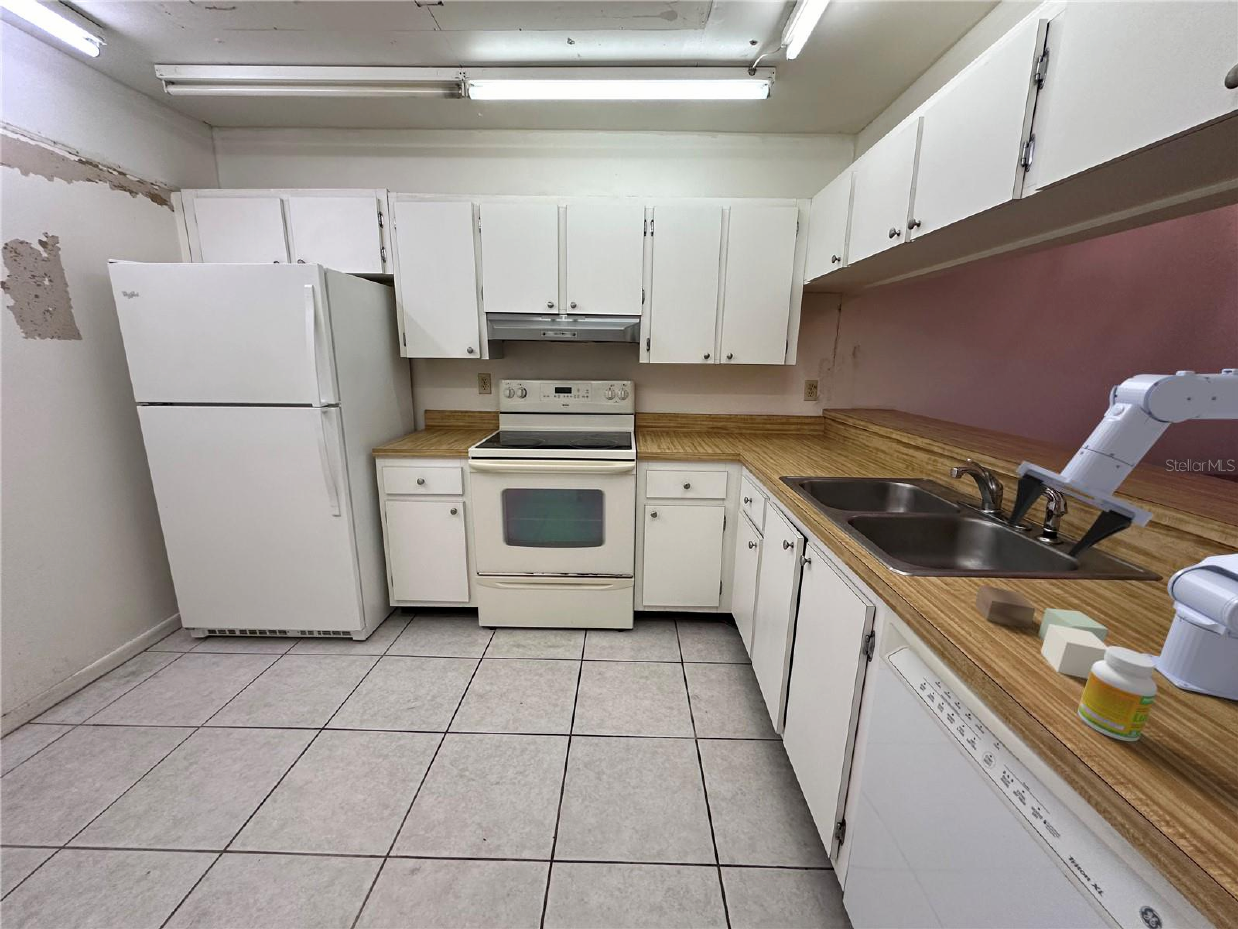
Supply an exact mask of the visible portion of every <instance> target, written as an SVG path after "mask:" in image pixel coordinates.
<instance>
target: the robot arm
mask: <svg viewBox="0 0 1238 929" xmlns="http://www.w3.org/2000/svg"><path fill="white" fill-rule="evenodd" d="M1109 394H1110V395H1109V407H1108V409H1107V410H1106V412H1105V413H1104V415H1103V416H1104V417H1103V419H1102V420H1101V421H1100V423H1099V424H1098V425H1097V426H1096V428H1095V429H1094V430H1093V431H1092V433H1091V434H1090V435H1089V437H1088V438H1087V439H1086V440H1085V442H1084V443H1083V444H1082V446H1080V449H1078V451H1077V452H1076V453H1075V455H1073V457H1072V459H1071V460H1070V461H1069V462H1068V463H1067V465H1066V466H1065V467H1064V469H1063V470H1062V471H1061V473H1056V472H1053V471H1051V470H1048V469H1047V468H1046V469H1045V467H1044V468H1043V467H1040V466H1038V465H1036V464H1032V463H1031V462H1028V461H1025V460H1023V461H1022V463H1021V464H1020V465H1019V466H1018V468H1017V469H1016V470H1015V473H1017V474H1020V475H1021V476H1019V477H1018V479H1017V490H1016V496H1015V502H1014V505H1013V508H1012V511H1011V514H1010V516H1009V518H1008V521H1006V524H1007V525H1009V526H1011V527H1014V528H1016V527H1017V526H1018V525H1019V524H1020V523H1021V522H1022V520H1023V519H1024V518H1025V516H1026V515H1027V513H1028V511H1029V510H1030V508H1031V507H1032V506H1033V505H1034V504H1035V503H1036V502H1037V501H1038V499H1039V498H1040V497H1041V496H1042V495H1044V494H1045V492H1046V491H1048V489H1049V487H1050V488H1053V489H1054V490H1056V491H1059V492H1062V493H1064V494H1066V495H1069V496H1071V497H1074V498H1075V499H1078V500H1080V501H1082V502H1084V503H1087V504H1089V505H1092V506H1095V507H1096V508H1099V509H1101V510H1102V511H1101V512H1100V513H1099V515H1098V516H1097V518H1096V519H1095V521H1094V522H1093V524H1092V525H1091V526H1090V527H1089V529H1088V530H1087V532H1086V533H1085V534H1084V536H1082V538H1080V540H1078V541H1077V542H1076V543H1075V545H1074V546H1072V547H1071V549H1070V550H1069V551H1068V553H1067V555H1068V556H1070V557H1072V558H1074V559H1077V558H1079V556H1081V555H1082V554H1083V553H1085V552H1086V551H1087V550H1089V549H1090V548H1091V547H1093V546H1094V545H1097V544H1099V542H1101V541H1103V540H1106V539H1107V538H1110V537H1111V536H1114V535H1115V534H1116V535H1117V534H1118V533H1120V532H1123V531H1125V530H1127V529H1129V528H1131V525H1132V524H1135V525H1138V526H1141V527H1142V528H1143V527H1145V526H1146V525H1147V524H1148V523H1149V522H1150V520H1151V519H1152V518H1154V514H1153V513H1152V512H1150V511H1148V510H1146V509H1143V508H1141V507H1138V506H1136V505H1135V504H1131V503H1129V502H1127V501H1123V500H1122V499H1119V498H1117V497H1114V496H1112V495H1113V494H1114V492H1116V490H1117V489H1118V488H1119V487H1120V485H1121V484H1122V483H1123V481H1124V480H1126V478H1127V477H1128V475H1130V473H1131V472H1132V471H1133V470H1134V468H1135V467H1136V466H1137V465H1138V464H1139V462H1140V461H1141V460H1142V459H1143V457H1144V456H1145V455H1146V454H1147V453H1148V451H1149V450H1150V449H1151V448H1152V446H1153V445H1154V444H1155V443H1156V442H1157V441H1158V439H1159V438H1160V437H1161V436H1162V434H1163V433H1164V432H1165V431H1166V429H1167V428H1168V427H1169V426H1170V425H1171V424H1172V423H1175V424H1176V423H1181V422H1184V421H1187V420H1238V368H1224V369H1222V370H1221V373H1198V374H1196V372H1195V370H1178V371H1177V372H1176V373H1175V375H1173V374H1171V375H1170V374H1150V373H1149V374H1147V373H1146V374H1145V373H1144V374H1137V375H1134V376H1133V377H1132V378H1131V377H1129V378H1128V379H1126V380H1124V381H1122V383H1121V384H1119V385H1114V386H1113V387H1112V389H1111V391H1110V393H1109ZM1047 486H1048V487H1047ZM1064 487H1068V488H1071V489H1073V490H1076V491H1077V492H1080V493H1082V494H1085V495H1086V496H1090V497H1092V498H1094V499H1093V500H1092V499H1089V498H1087V497H1085V496H1083V495H1080V494H1078V493H1075V492H1073V491H1071V490H1069V489H1066V488H1064ZM1167 592H1168V595H1169V596H1170V598H1171V599H1172V600H1173V601H1174V603H1173V606H1172V609H1174V610H1175V611H1176V612H1175V613H1174V618H1173V620H1172V622H1171V626H1170V628H1169V631H1168V633H1167V636H1166V639H1165V642H1164V644H1163V647H1162V650H1161V652H1160V655H1153V654H1149V653H1141V654H1142V655H1144V656H1146V657H1148V658H1149V659H1151V660H1152V661H1153V662H1154V663H1155V669H1156V670H1157V671H1158V672H1159V673H1160V674H1161V675H1163V676H1164V677H1165V678H1166V679H1168V680H1169V681H1170V682H1171V683H1172V684H1173V685H1175V686H1176V687H1177V688H1178V689H1179V688H1180V689H1183V690H1188V691H1190V692H1191V691H1193V692H1197V693H1200V694H1204V695H1205V694H1206V695H1211V696H1214V697H1215V696H1216V697H1218V698H1219V697H1220V698H1223V699H1224V698H1225V699H1229V700H1233V701H1238V553H1233V554H1222V555H1213V556H1207V557H1206V558H1204V559H1202V560H1201V562H1198V563H1197V564H1194V565H1191V566H1188V567H1185V568H1183V569H1180V570H1179V571H1177V572H1175V573H1174V574H1173V575H1172V576H1171V578H1170V579H1169V580H1168V582H1167Z"/></svg>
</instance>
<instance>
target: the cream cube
mask: <svg viewBox="0 0 1238 929" xmlns="http://www.w3.org/2000/svg"><path fill="white" fill-rule="evenodd" d="M1108 647H1109V646H1107V645H1106V644H1105V642H1104V643H1103V642H1102V641H1100V640H1099V639H1098V638H1097V637H1096V636H1095V635H1094V634H1093V633H1092V632H1089V631H1084V630H1079V629H1073V628H1068V627H1063V626H1058V625H1053V624H1049V626H1048V630H1047V633H1046V636H1045V640H1044V639H1043V644H1042V647H1041V650H1040V654H1041V655H1042V656H1043V657H1044V658H1045V659H1046V661H1048V663H1049V664H1050V665H1051V667H1052V668H1053V669H1054V670H1055V671H1056V672H1057V673H1059V674H1064V675H1069V676H1073V677H1078V678H1081V679H1082V678H1083V679H1086V680H1088V678H1089V675H1090V672H1091V669H1092V666H1093V664H1094V663H1095V662H1097V661H1102V660H1105V659H1104V655H1105V652H1106V650H1107V648H1108Z"/></svg>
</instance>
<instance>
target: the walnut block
mask: <svg viewBox="0 0 1238 929" xmlns="http://www.w3.org/2000/svg"><path fill="white" fill-rule="evenodd" d="M974 605H975V606H976V608H977V609H978V610H979V612H980V613H981V614H982V616H983V617H984V619H985V620H986V621H988V622H993V623H997V624H1002V623H1003V624H1002V625H1008V626H1012V627H1016V628H1017V627H1018V628H1023V629H1027V630H1031V629H1030V628H1031V626H1032V622H1033V619H1034V616H1035V612H1036V607H1035V606H1034V605H1033V604H1032V603H1031V602H1030V601H1029V600H1028V599H1027V598H1026V597H1025V596H1024V595H1023V594H1022V593H1021V592H1020V591H1013V590H1010V589H1004V588H999V587H993V586H987V585H982V584H980V585H979V586H978V591H977V594H976V598H975V602H974Z"/></svg>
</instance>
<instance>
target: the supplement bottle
mask: <svg viewBox="0 0 1238 929" xmlns="http://www.w3.org/2000/svg"><path fill="white" fill-rule="evenodd" d="M1107 647H1108V648H1107V650H1106V652H1105V655H1104V659H1105V660H1102V661H1097V662H1095V663H1094V664H1093V666H1092V669H1091V672H1090V675H1089V678H1088V679H1087V681H1086V683H1085V684H1086V685H1085V687H1084V691H1083V693H1082V696H1081V699H1080V702H1079V704H1078V705H1079V706H1078V709H1077V714H1078V716H1079V717H1080V719H1081V720H1082V721H1083V722H1084V723H1086V724H1087V726H1089V727H1091V728H1092V729H1094V730H1095V731H1097V732H1099V733H1101V734H1103V735H1105V736H1108V737H1110V738H1113V739H1116V740H1119V741H1122V742H1123V741H1124V742H1136V741H1138V740H1139V739H1140V737H1141V735H1142V732H1143V730H1144V726H1145V725H1146V722H1147V719H1148V717H1149V713H1150V711H1151V709H1152V705H1153V702H1154V700H1155V699H1156V698H1155V697H1156V695H1157V692H1158V687H1157V684H1156V682H1155V681H1154V679H1153V678H1151V677H1153V675H1154V672H1155V669H1156V668H1155V663H1154V662H1153V661H1152V660H1151V659H1149V658H1148V657H1146V656H1144V655H1142V653H1140V652H1137V651H1136V650H1135V651H1134V650H1132V649H1129V648H1126V647H1122V646H1115V645H1112V646H1107Z"/></svg>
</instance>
